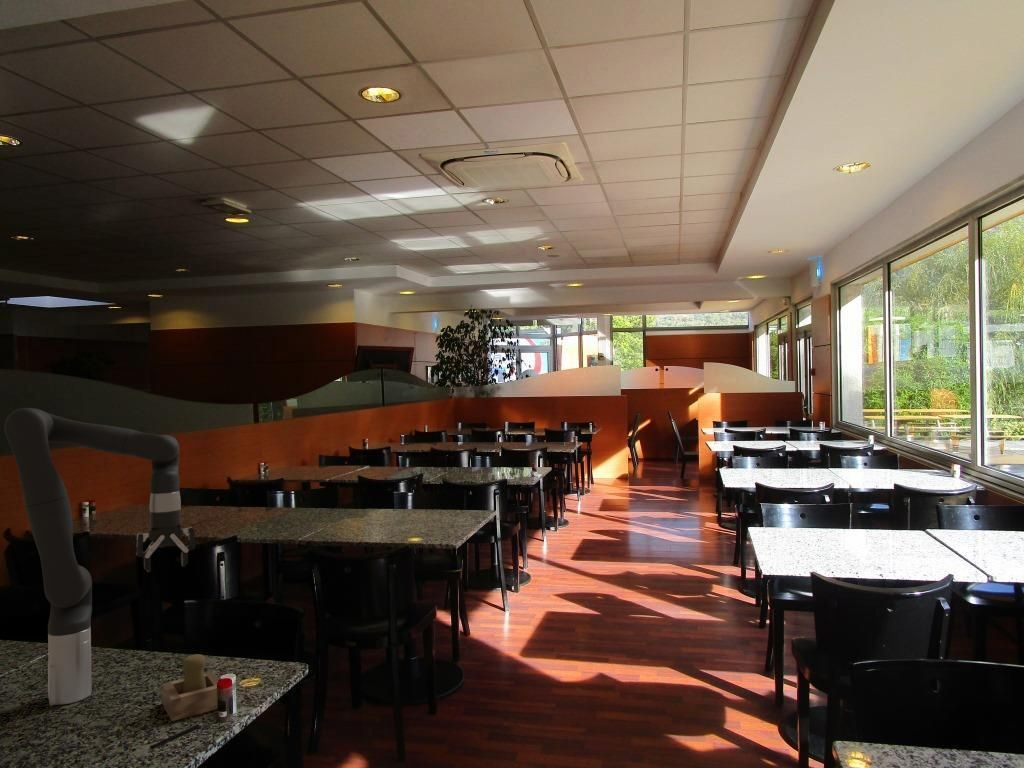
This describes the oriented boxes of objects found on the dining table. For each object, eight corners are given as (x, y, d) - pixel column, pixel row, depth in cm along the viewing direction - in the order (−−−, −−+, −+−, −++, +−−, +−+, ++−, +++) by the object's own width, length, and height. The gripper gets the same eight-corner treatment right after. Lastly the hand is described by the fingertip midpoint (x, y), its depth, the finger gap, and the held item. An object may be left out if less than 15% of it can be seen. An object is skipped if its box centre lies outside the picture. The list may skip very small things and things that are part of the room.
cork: (197, 707, 168) (196, 661, 168) (175, 705, 169) (174, 659, 169) (213, 696, 174) (212, 652, 174) (192, 694, 175) (191, 650, 175)
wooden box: (171, 721, 163) (171, 699, 163) (162, 703, 172) (162, 683, 172) (225, 706, 170) (225, 686, 170) (213, 690, 179) (213, 671, 180)
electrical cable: (200, 726, 160) (200, 722, 160) (203, 727, 160) (203, 723, 160) (149, 749, 150) (149, 745, 150) (152, 750, 150) (152, 746, 150)
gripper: (138, 513, 180) (139, 576, 180) (196, 507, 189) (197, 567, 189) (133, 510, 187) (134, 570, 186) (190, 504, 195) (191, 562, 195)
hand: (166, 568), depth 187 cm, fingers open, 8 cm apart
